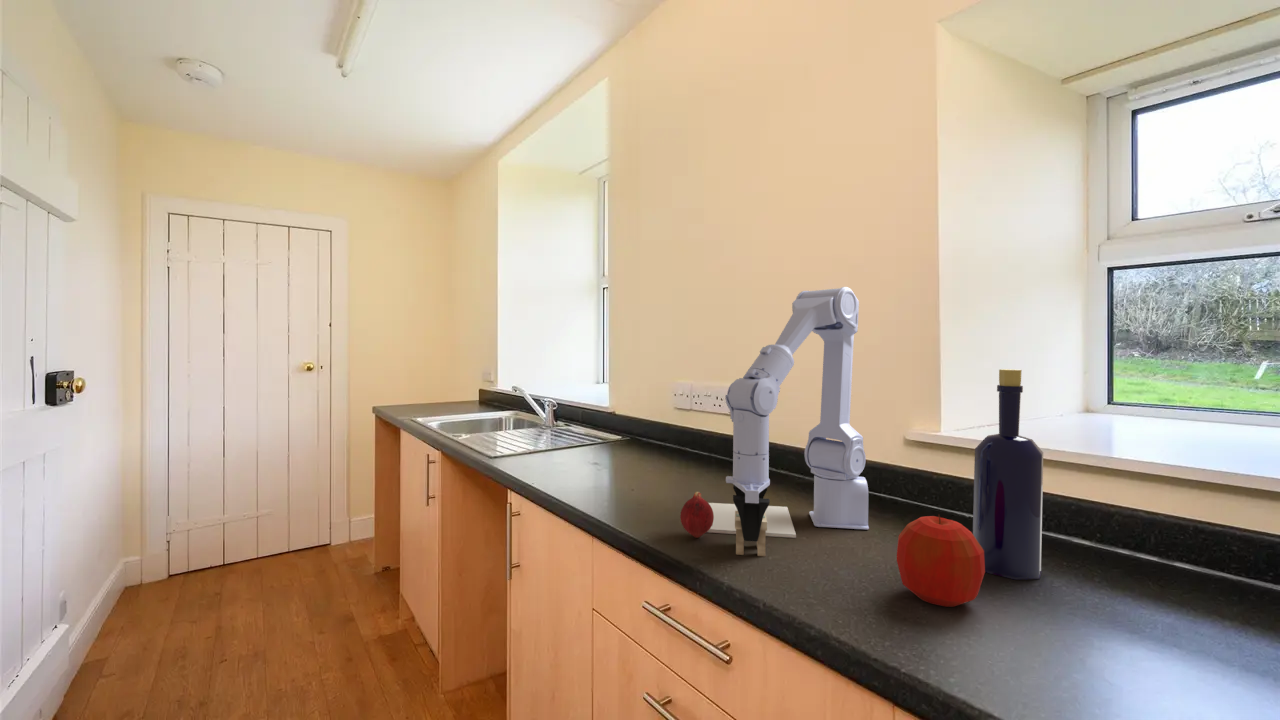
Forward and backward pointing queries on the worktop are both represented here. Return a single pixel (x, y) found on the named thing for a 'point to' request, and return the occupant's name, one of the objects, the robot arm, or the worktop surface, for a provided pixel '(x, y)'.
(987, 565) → the bottle
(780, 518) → the mat
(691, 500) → the onion
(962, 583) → the apple
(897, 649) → the worktop surface
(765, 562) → the worktop surface
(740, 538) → the stool
